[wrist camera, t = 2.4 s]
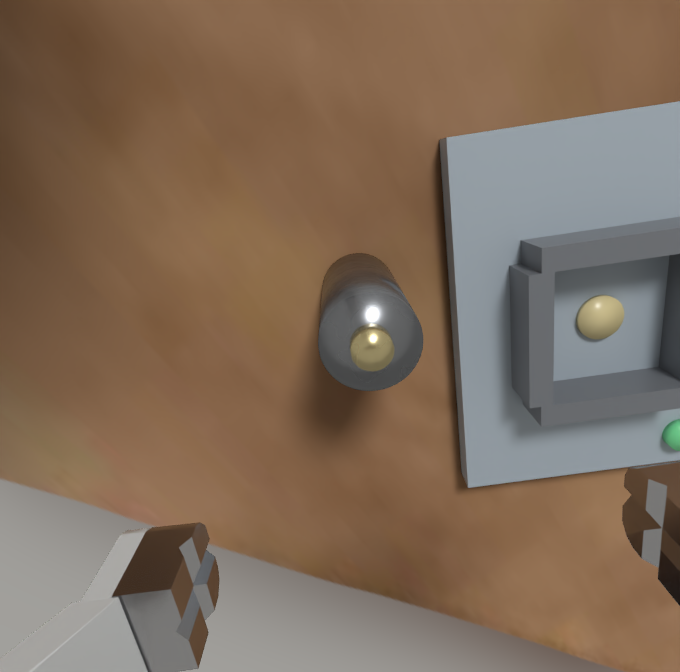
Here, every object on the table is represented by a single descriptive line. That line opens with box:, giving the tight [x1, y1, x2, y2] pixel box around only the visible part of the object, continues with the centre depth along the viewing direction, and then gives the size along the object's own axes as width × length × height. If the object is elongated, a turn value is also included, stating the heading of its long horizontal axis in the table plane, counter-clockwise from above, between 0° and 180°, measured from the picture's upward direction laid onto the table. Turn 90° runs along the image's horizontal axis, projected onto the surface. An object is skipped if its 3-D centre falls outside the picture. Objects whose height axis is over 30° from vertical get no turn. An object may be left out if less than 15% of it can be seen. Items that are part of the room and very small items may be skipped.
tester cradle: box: [439, 101, 680, 488], centre depth 24 cm, size 20×15×4 cm
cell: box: [318, 253, 423, 391], centre depth 21 cm, size 4×4×9 cm
